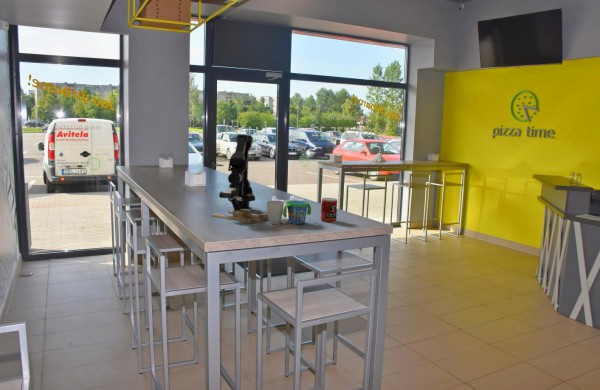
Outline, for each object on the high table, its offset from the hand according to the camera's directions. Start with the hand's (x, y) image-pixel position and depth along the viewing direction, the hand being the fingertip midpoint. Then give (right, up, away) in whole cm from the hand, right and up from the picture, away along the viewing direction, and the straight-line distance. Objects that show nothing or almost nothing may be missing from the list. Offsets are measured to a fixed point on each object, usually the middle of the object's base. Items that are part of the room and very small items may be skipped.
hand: (236, 213), depth 241 cm
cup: (+19, -4, -10) cm, 22 cm away
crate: (+3, -2, -3) cm, 5 cm away
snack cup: (+30, -4, -9) cm, 31 cm away
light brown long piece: (+2, -2, -1) cm, 3 cm away
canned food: (+45, -4, -1) cm, 46 cm away
